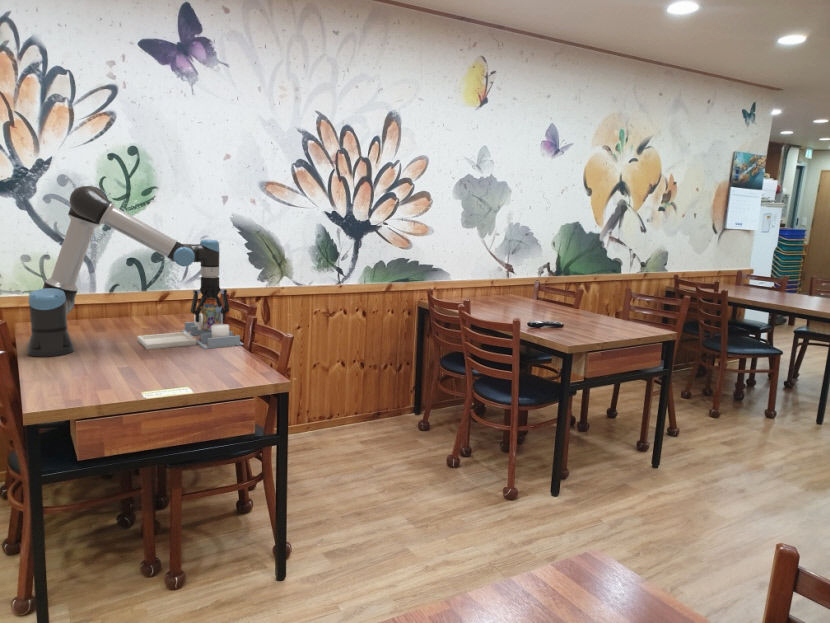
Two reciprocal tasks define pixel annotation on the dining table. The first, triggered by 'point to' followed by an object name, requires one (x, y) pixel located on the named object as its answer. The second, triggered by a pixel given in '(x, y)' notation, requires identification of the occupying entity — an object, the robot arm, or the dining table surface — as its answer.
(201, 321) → the white glossy dome
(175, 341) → the tray
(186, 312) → the dining table surface
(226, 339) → the rack
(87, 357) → the dining table surface
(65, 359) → the dining table surface
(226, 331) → the white rounded egg
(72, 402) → the dining table surface
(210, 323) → the mug
